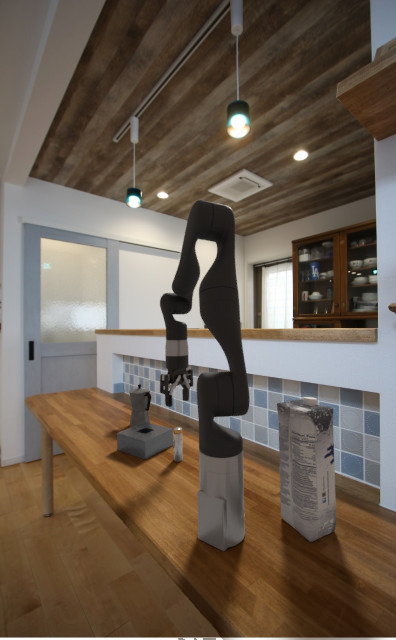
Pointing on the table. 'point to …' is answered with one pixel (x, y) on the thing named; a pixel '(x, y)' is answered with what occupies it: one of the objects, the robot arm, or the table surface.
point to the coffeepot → (139, 406)
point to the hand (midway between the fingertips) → (177, 403)
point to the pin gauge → (178, 444)
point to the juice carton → (307, 467)
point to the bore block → (145, 440)
